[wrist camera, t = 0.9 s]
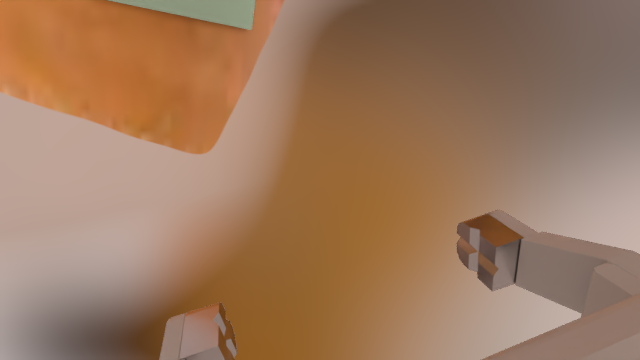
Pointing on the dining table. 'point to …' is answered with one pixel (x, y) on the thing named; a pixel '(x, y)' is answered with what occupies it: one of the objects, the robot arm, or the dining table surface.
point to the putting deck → (204, 10)
